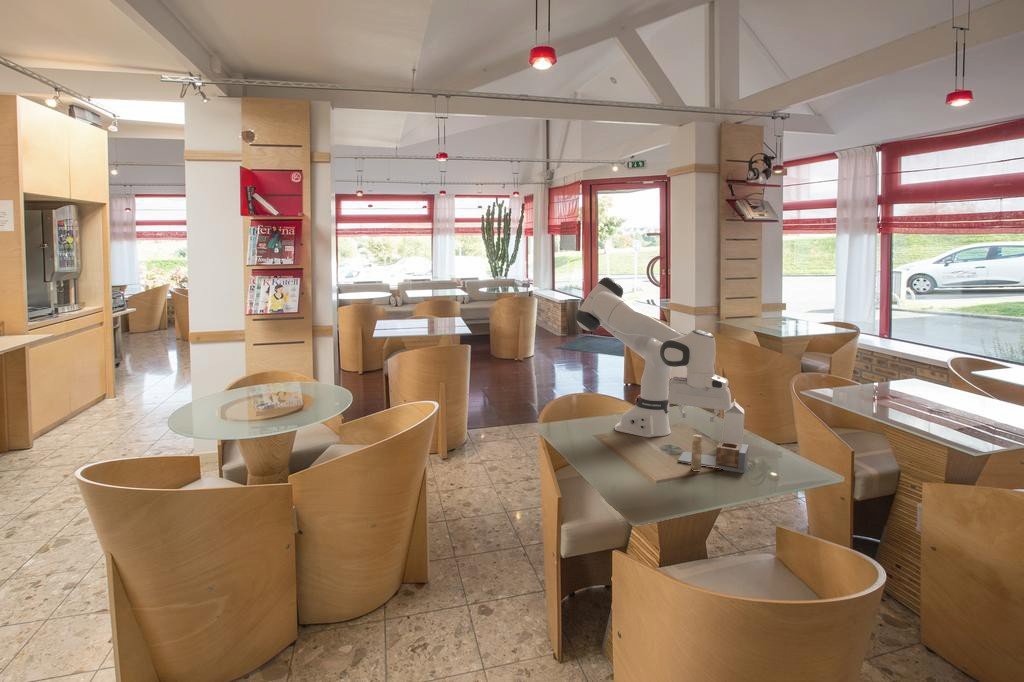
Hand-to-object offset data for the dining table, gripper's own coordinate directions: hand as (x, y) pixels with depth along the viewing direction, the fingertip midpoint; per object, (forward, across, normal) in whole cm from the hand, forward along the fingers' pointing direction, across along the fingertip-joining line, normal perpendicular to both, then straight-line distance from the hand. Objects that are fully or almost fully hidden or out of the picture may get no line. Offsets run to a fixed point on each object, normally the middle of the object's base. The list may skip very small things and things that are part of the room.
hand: (698, 419), depth 208 cm
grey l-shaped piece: (+18, +4, +10) cm, 21 cm away
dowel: (+18, 0, 0) cm, 18 cm away
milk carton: (+18, +8, +28) cm, 34 cm away
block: (+16, +9, +10) cm, 21 cm away
